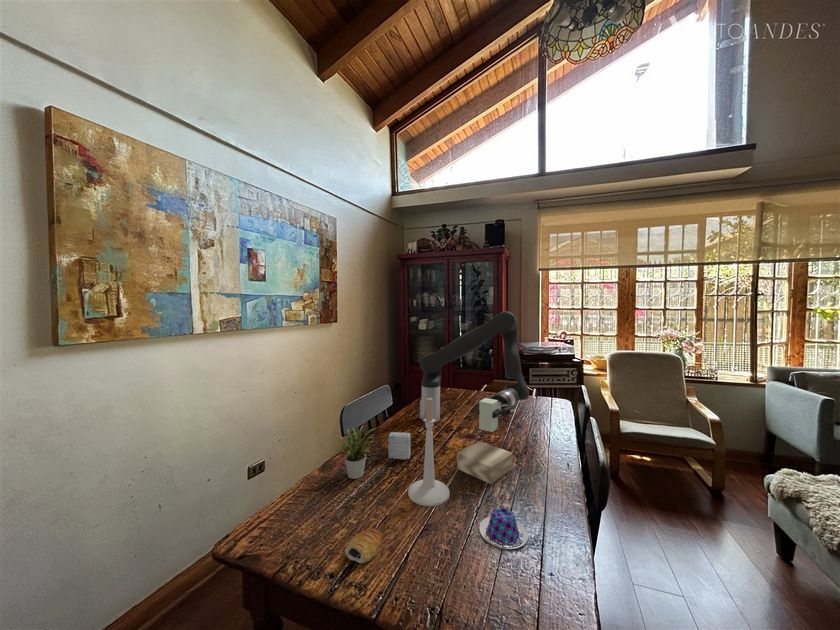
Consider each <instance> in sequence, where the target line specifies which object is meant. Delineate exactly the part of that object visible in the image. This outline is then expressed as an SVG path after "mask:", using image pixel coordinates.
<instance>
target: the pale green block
mask: <svg viewBox="0 0 840 630" xmlns="http://www.w3.org/2000/svg"><path fill="white" fill-rule="evenodd" d="M480 400H481V401H479V400H478V402H479V415H478V419H479V420H478V429H479V430H480V431H481V430H483V431H487V432H490V433H494V432H495V431H496V430H497V429H498V428H499V427H498V425H499V423H498V422H499V421H498V419H499V416H498V417H496V418H492V412H493V411H495V410H496V409H497V410H498V400H494V399H491V398H487V397H484V398H482V399H480Z"/></svg>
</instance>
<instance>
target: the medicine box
mask: <svg viewBox="0 0 840 630" xmlns="http://www.w3.org/2000/svg"><path fill="white" fill-rule="evenodd" d="M387 440H388V459H389V458H391V459H392V458H393V459H392V460H407V459H409V460H410V457H411V433H410V432H394V431H391V432H390V433H389V435H388V439H387Z"/></svg>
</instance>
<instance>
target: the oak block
mask: <svg viewBox="0 0 840 630" xmlns="http://www.w3.org/2000/svg"><path fill="white" fill-rule="evenodd" d="M513 455H514V453H513V452H511V451H508V450H505V449H503V448H501V447H497V446H495V445H492V444H489V443H487V442H483V441H482V440H478V441H476V442H475V443H473V444H471V445H469V446H467V447H465V448H464V449H462V450H460V451H458V452H457V453H456V469H457V470H459V471H461V472H464V473H465V474H467V475H470V476H472V477H475V478H476V479H479V480H481V481H484V482H486V483H487V484H490V485H492V484H493V483H495V482H497V480H499V479H501V478H502V477H503V476H505V475H506V474H507V473H509V472H510V471H512V469H513V464H514V463H513V462H514V461H513V460H514V459H513V458H514V457H513Z"/></svg>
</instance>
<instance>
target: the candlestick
mask: <svg viewBox="0 0 840 630" xmlns="http://www.w3.org/2000/svg"><path fill="white" fill-rule="evenodd" d="M423 422H424V423H425V424H424V426H425V427H426V431H425V445H424V446H425V447H424V462H423V476H422V478H423V479H419V480H417V481H415V482H413V483H412V484H410V486H409V487H408V489H407V496H408V497H409V499H410V501H412V502H413V503H414V504H416V505H420V506H422V507H436V506H440V505H443V504H444V503H446V502H447V501H448V500H449V498H450V494H451V492H450V489H449V487H448V486H447V485H446V484H445V483H444V482H442V481H440V480H437V479H436V478H435V464H434V458H435V457H434V438H433V437H434V436H433V427H434V425H435V424H434V423H436V422H435V419H433V399H432V398H430V397H429V398H427V399H426V419H424V421H423Z"/></svg>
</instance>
